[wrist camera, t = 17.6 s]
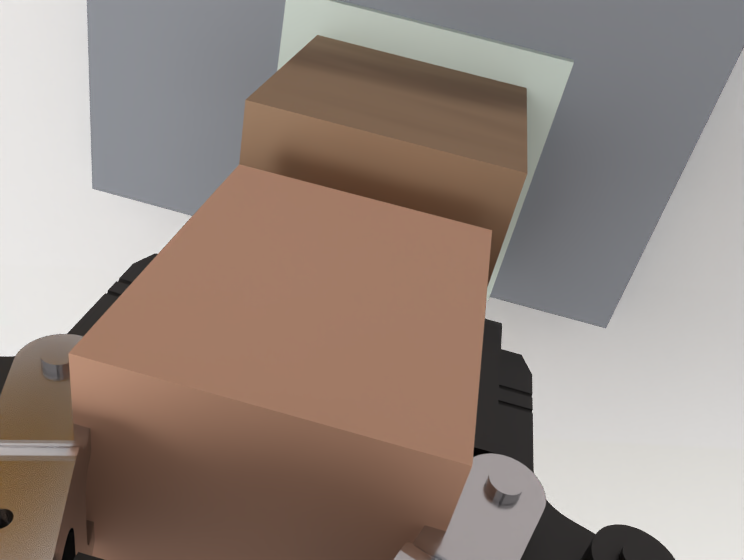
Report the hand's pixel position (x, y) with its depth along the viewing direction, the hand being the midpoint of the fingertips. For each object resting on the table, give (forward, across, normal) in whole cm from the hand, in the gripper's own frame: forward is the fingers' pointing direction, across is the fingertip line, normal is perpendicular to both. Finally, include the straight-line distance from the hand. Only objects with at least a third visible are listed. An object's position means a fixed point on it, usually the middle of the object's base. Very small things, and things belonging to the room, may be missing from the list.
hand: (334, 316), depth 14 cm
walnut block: (+8, 0, 0) cm, 8 cm away
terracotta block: (+1, 0, 0) cm, 1 cm away
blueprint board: (+10, +1, -2) cm, 10 cm away
